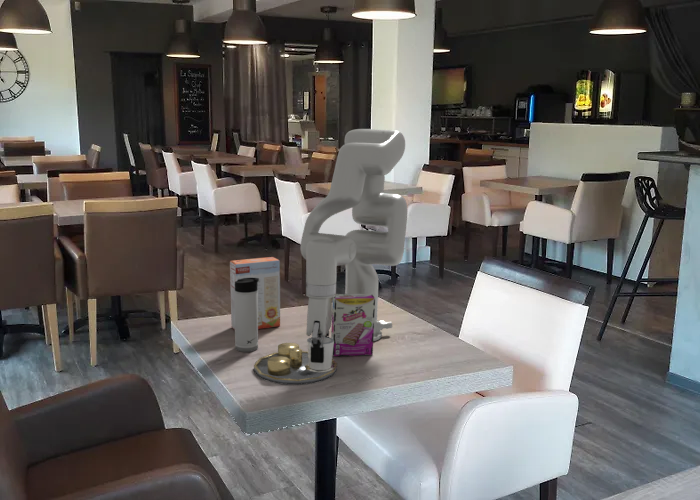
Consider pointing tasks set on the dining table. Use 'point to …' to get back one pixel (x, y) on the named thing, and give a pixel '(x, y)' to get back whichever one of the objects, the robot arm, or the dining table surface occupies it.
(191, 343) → the dining table surface
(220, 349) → the dining table surface
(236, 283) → the travel mug
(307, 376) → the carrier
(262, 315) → the cracker box
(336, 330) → the candy bar box
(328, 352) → the shot glass
